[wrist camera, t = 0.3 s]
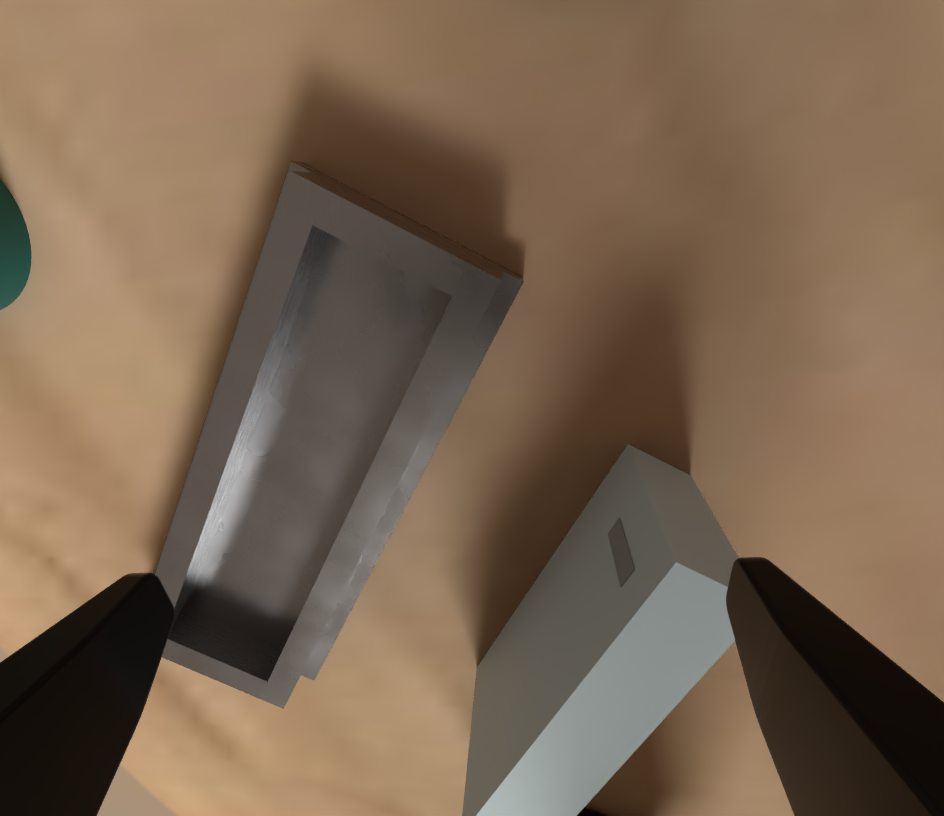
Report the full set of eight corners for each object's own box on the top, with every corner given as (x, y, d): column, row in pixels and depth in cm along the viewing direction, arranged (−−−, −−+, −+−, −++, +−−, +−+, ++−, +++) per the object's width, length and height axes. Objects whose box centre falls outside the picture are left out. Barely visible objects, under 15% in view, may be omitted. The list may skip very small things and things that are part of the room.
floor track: (321, 664, 29) (299, 715, 26) (155, 592, 28) (115, 637, 25) (523, 277, 21) (523, 291, 18) (301, 162, 20) (266, 158, 17)
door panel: (530, 689, 29) (533, 865, 21) (476, 665, 28) (459, 834, 21) (690, 474, 24) (768, 606, 16) (626, 442, 23) (674, 561, 16)
